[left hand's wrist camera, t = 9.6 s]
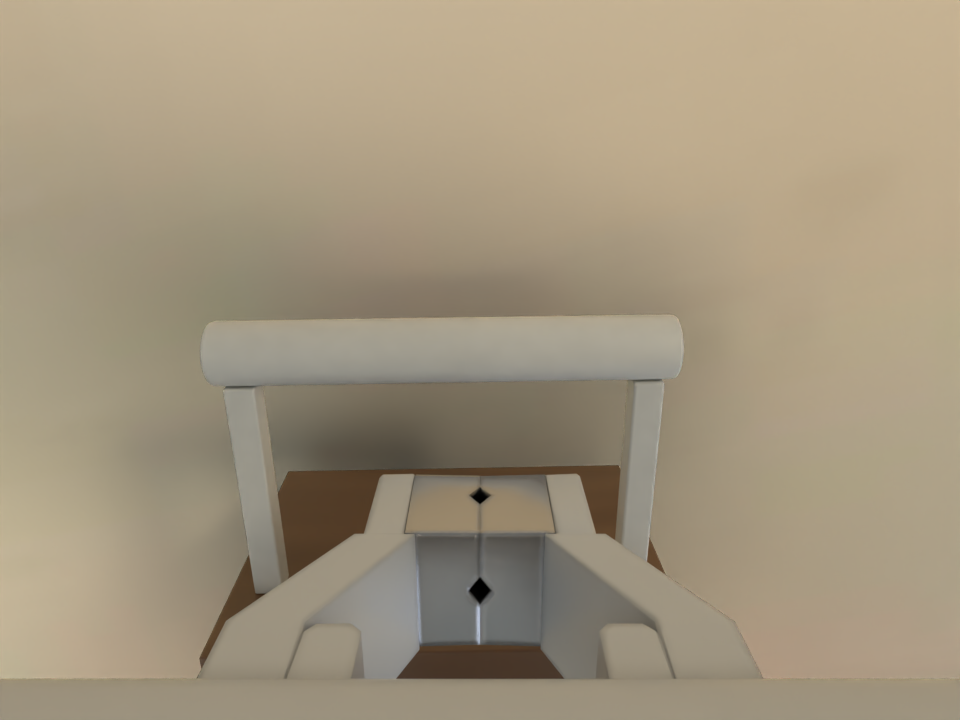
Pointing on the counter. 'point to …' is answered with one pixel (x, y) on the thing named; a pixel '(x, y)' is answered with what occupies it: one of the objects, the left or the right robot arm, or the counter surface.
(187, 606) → the counter surface
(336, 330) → the drawer
